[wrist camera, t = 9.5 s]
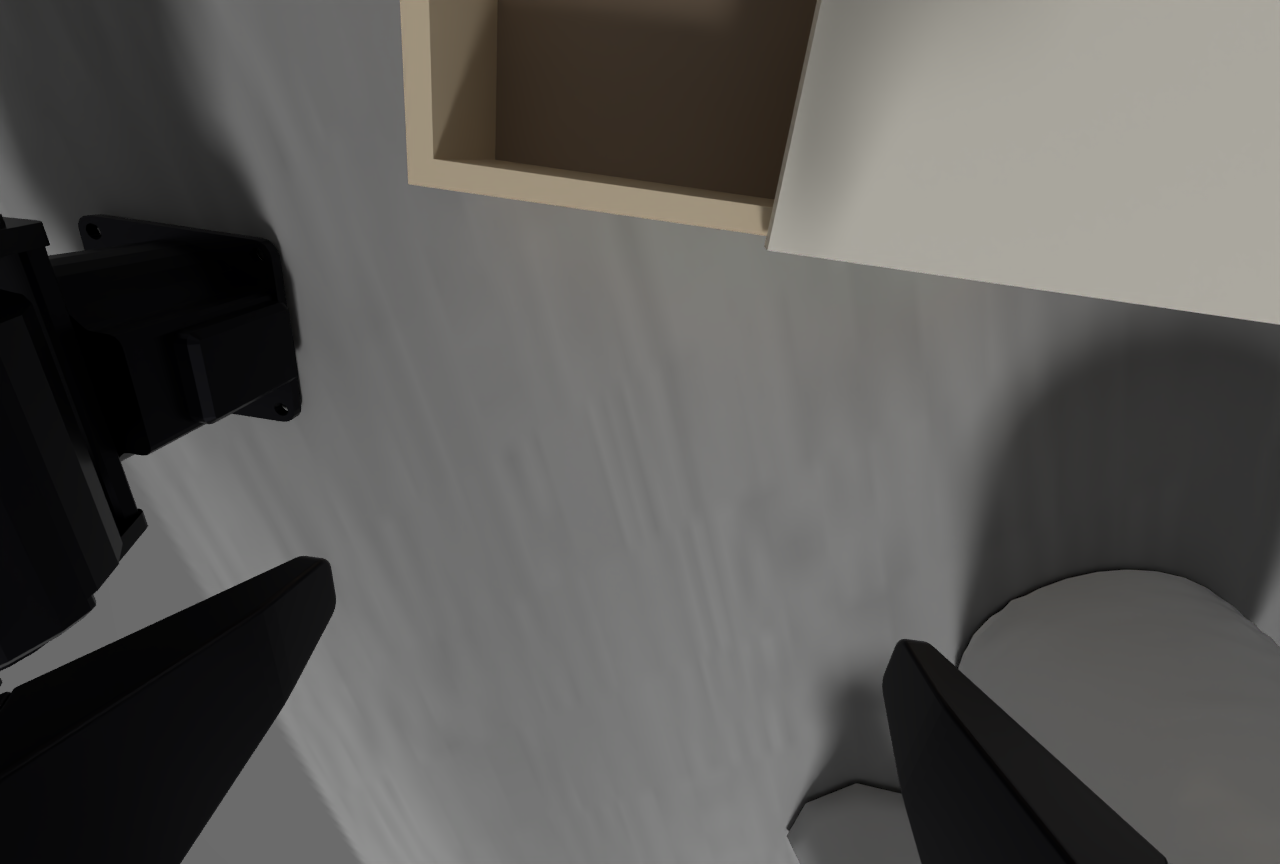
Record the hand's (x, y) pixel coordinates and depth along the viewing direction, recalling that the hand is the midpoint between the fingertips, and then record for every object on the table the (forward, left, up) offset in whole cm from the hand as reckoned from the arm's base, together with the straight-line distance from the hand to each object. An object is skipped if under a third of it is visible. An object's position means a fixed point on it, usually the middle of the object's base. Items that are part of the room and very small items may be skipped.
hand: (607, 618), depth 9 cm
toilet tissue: (+20, -11, -12) cm, 26 cm away
